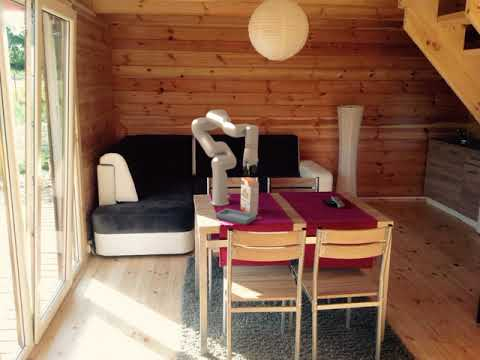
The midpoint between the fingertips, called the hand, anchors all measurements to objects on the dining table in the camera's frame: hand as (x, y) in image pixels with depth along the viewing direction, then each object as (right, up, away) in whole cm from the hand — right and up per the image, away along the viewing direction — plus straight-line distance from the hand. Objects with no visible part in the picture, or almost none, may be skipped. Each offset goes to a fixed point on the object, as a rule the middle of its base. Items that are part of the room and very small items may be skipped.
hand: (250, 174), depth 276 cm
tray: (-9, -27, -7) cm, 29 cm away
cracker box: (-1, -24, +6) cm, 25 cm away
